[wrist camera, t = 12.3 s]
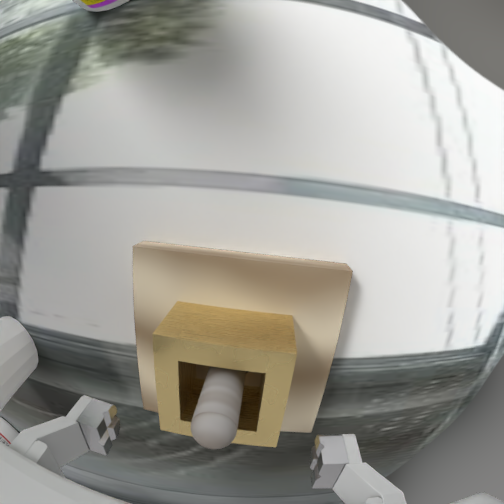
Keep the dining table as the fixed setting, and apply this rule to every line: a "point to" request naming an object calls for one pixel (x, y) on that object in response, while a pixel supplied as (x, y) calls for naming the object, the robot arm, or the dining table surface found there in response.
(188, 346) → the tan square frame block
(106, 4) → the supplement bottle
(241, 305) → the post stand
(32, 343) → the shot glass
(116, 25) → the dining table surface
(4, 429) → the fruit juice
